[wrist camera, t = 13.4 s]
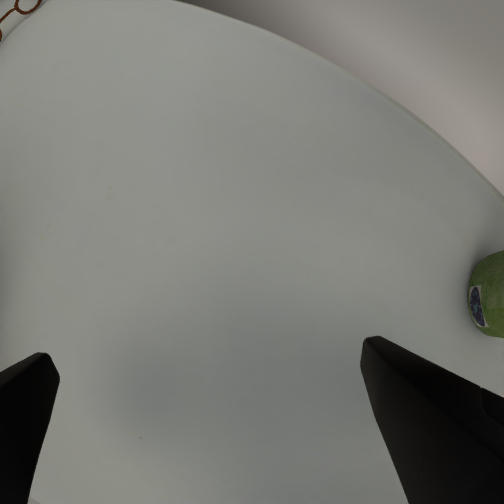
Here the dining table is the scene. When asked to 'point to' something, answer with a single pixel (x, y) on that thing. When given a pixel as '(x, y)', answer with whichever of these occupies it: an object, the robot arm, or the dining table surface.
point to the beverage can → (488, 295)
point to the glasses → (18, 11)
